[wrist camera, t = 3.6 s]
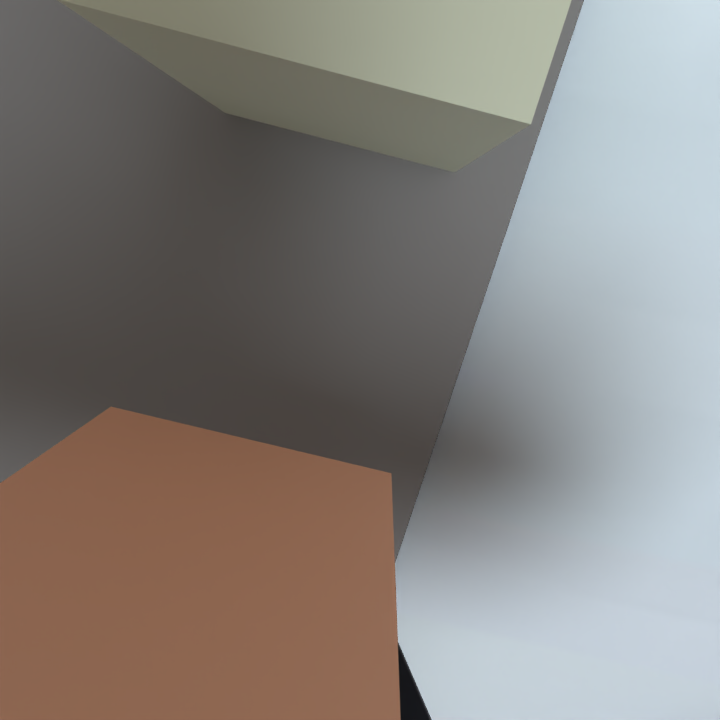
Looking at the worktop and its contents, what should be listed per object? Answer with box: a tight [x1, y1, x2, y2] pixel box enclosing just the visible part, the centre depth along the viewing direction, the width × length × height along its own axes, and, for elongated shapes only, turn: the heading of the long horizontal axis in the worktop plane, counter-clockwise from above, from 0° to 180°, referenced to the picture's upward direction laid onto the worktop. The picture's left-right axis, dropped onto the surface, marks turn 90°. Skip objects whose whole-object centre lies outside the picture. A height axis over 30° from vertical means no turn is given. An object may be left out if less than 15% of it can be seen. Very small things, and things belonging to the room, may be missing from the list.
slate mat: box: [0, 0, 584, 561], centre depth 12 cm, size 27×21×1 cm
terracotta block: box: [0, 407, 401, 720], centre depth 6 cm, size 5×5×5 cm
